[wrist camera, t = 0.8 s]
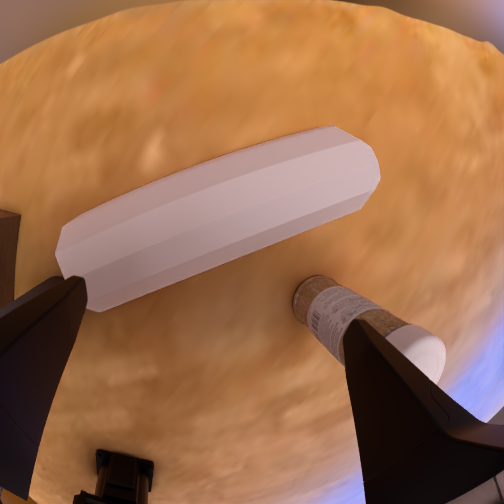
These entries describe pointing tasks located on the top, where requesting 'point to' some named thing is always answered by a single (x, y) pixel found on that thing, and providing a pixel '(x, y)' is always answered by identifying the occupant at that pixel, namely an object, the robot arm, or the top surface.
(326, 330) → the sprinkles bottle
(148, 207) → the light grey faceted bar
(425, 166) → the top surface
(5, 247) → the breaker box
